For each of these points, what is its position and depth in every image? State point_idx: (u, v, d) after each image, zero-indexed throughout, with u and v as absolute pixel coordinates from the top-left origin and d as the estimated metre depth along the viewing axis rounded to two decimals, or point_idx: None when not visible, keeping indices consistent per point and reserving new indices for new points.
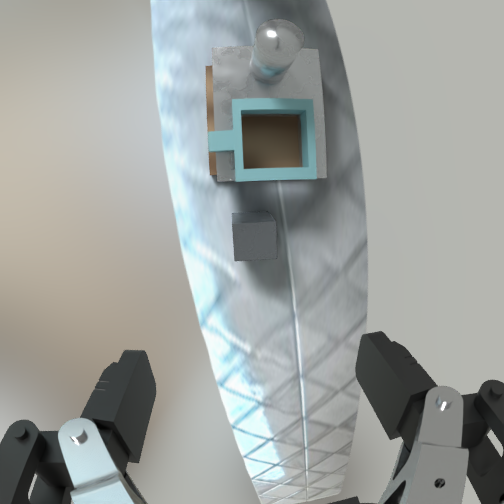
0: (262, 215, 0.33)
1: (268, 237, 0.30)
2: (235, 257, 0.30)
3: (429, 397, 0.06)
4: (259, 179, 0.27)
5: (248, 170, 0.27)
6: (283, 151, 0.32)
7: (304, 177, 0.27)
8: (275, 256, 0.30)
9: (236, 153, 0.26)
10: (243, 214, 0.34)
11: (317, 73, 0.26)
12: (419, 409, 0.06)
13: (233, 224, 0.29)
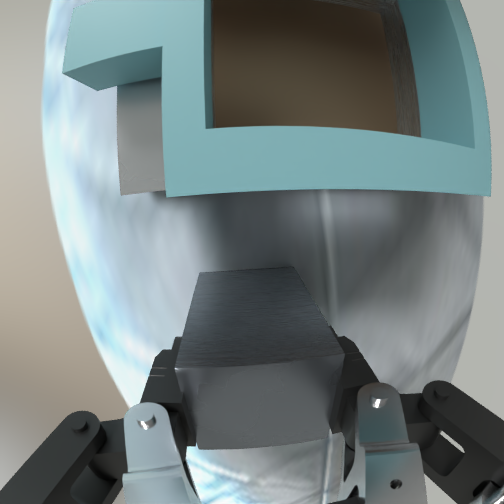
0: (283, 294, 0.11)
1: (310, 399, 0.07)
2: (200, 443, 0.08)
3: (361, 396, 0.06)
4: (290, 184, 0.05)
5: (231, 135, 0.05)
6: (341, 103, 0.10)
7: (464, 186, 0.05)
8: (323, 434, 0.08)
9: (171, 56, 0.04)
10: (227, 283, 0.12)
11: None
12: (353, 404, 0.07)
13: (180, 368, 0.07)
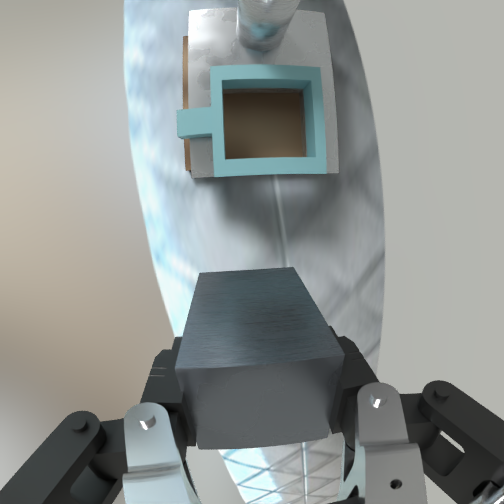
0: (283, 294, 0.11)
1: (310, 399, 0.07)
2: (200, 443, 0.08)
3: (361, 396, 0.06)
4: (247, 173, 0.19)
5: (231, 161, 0.19)
6: (281, 138, 0.24)
7: (309, 171, 0.20)
8: (323, 434, 0.08)
9: (214, 138, 0.18)
10: (227, 283, 0.12)
11: (324, 40, 0.19)
12: (353, 404, 0.07)
13: (180, 368, 0.07)
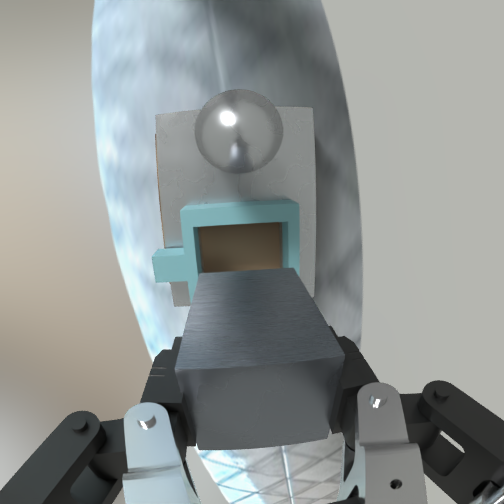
0: (284, 295, 0.11)
1: (310, 400, 0.07)
2: (200, 444, 0.08)
3: (361, 396, 0.06)
4: None
5: None
6: (260, 253, 0.26)
7: None
8: (323, 435, 0.08)
9: (190, 287, 0.20)
10: (227, 283, 0.12)
11: (309, 148, 0.20)
12: (353, 404, 0.07)
13: (180, 369, 0.07)
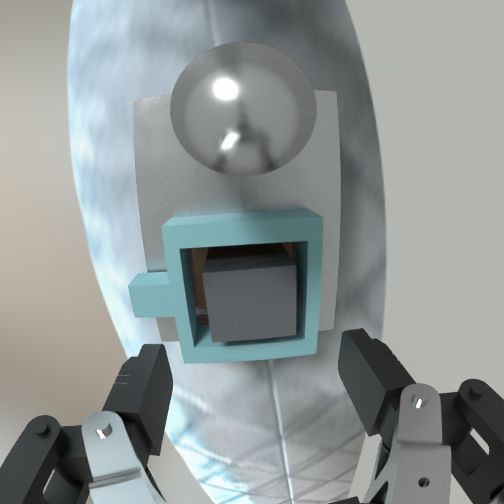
0: (265, 244, 0.17)
1: (279, 297, 0.14)
2: (213, 336, 0.14)
3: (404, 395, 0.06)
4: (221, 361, 0.16)
5: (202, 349, 0.16)
6: None
7: (296, 353, 0.16)
8: (293, 331, 0.15)
9: (179, 325, 0.15)
10: None
11: (333, 143, 0.15)
12: (395, 406, 0.06)
13: (204, 273, 0.13)
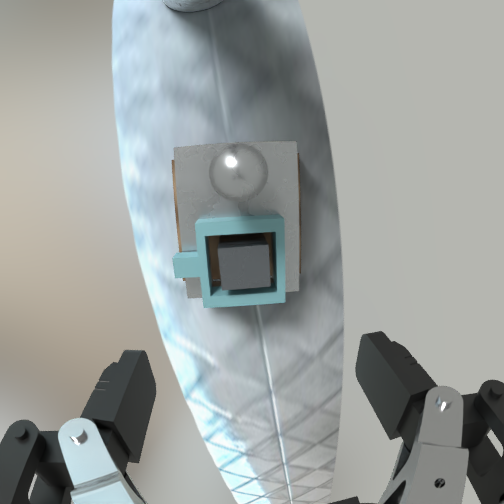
0: (253, 235, 0.29)
1: (260, 262, 0.26)
2: (222, 286, 0.26)
3: (429, 397, 0.06)
4: (226, 305, 0.28)
5: (215, 297, 0.27)
6: None
7: (272, 301, 0.28)
8: (268, 284, 0.26)
9: (202, 281, 0.27)
10: (232, 234, 0.30)
11: (294, 174, 0.27)
12: (419, 409, 0.06)
13: (219, 249, 0.25)
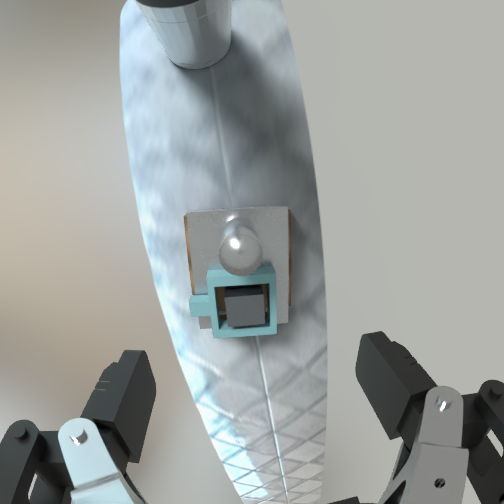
0: None
1: (257, 307, 0.33)
2: (228, 324, 0.33)
3: (429, 397, 0.06)
4: (231, 336, 0.35)
5: (222, 330, 0.35)
6: None
7: (266, 333, 0.35)
8: (263, 322, 0.34)
9: (212, 319, 0.34)
10: None
11: (285, 234, 0.34)
12: (419, 409, 0.06)
13: (225, 297, 0.32)
